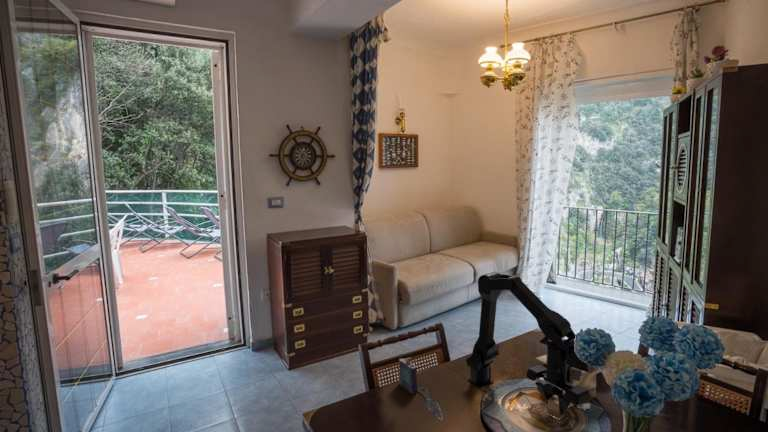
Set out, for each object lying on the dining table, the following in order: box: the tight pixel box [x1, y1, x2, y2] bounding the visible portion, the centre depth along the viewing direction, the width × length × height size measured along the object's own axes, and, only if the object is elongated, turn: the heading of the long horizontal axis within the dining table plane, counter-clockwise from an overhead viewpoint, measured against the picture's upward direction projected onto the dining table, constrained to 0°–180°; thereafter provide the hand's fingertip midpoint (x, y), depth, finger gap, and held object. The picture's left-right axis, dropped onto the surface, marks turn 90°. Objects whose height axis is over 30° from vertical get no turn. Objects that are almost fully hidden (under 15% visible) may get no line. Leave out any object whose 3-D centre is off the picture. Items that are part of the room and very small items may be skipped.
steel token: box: [575, 401, 591, 410], centre depth 125 cm, size 4×4×1 cm
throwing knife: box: [417, 386, 444, 422], centre depth 130 cm, size 4×20×1 cm, turn 14°
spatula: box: [547, 394, 575, 419], centre depth 125 cm, size 16×4×5 cm, turn 128°
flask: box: [398, 357, 419, 395], centre depth 140 cm, size 9×3×11 cm, turn 30°
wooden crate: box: [534, 354, 598, 400], centre depth 133 cm, size 12×15×10 cm
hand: (556, 410), depth 121 cm, fingers open, 4 cm apart
